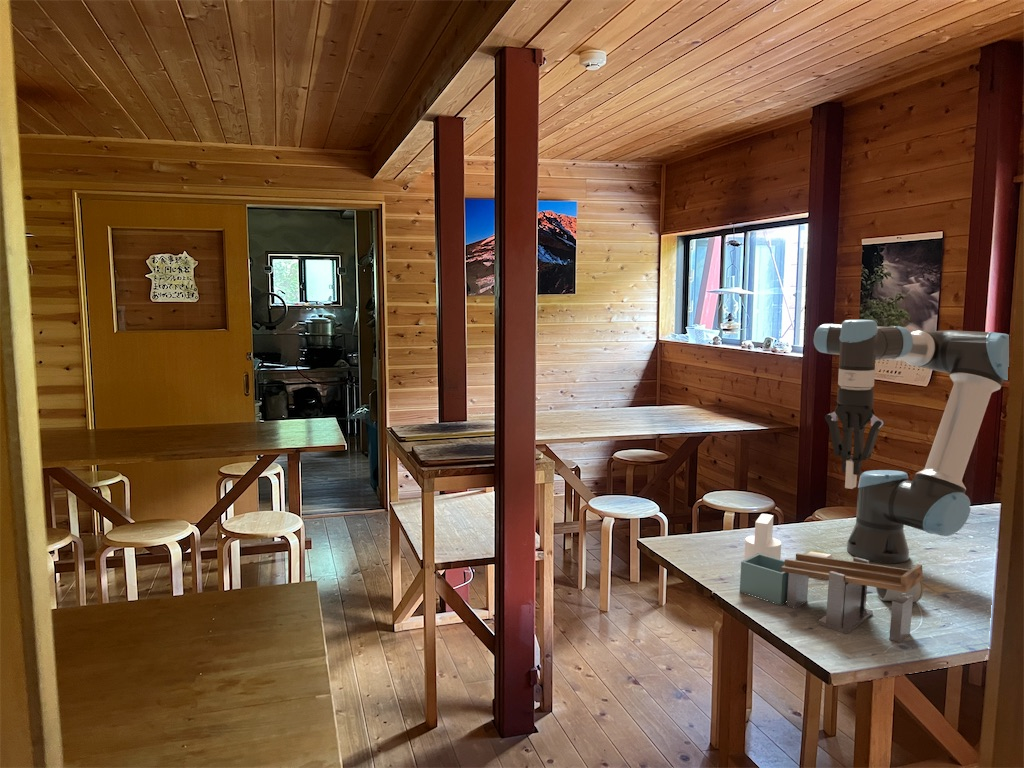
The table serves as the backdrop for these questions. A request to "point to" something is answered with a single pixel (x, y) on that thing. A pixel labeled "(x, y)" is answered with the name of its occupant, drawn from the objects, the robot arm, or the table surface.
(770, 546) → the cylinder with rectangular tab
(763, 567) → the open box
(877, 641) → the table surface
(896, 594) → the ceramic mug
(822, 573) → the wooden ramp track
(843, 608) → the support blocks
